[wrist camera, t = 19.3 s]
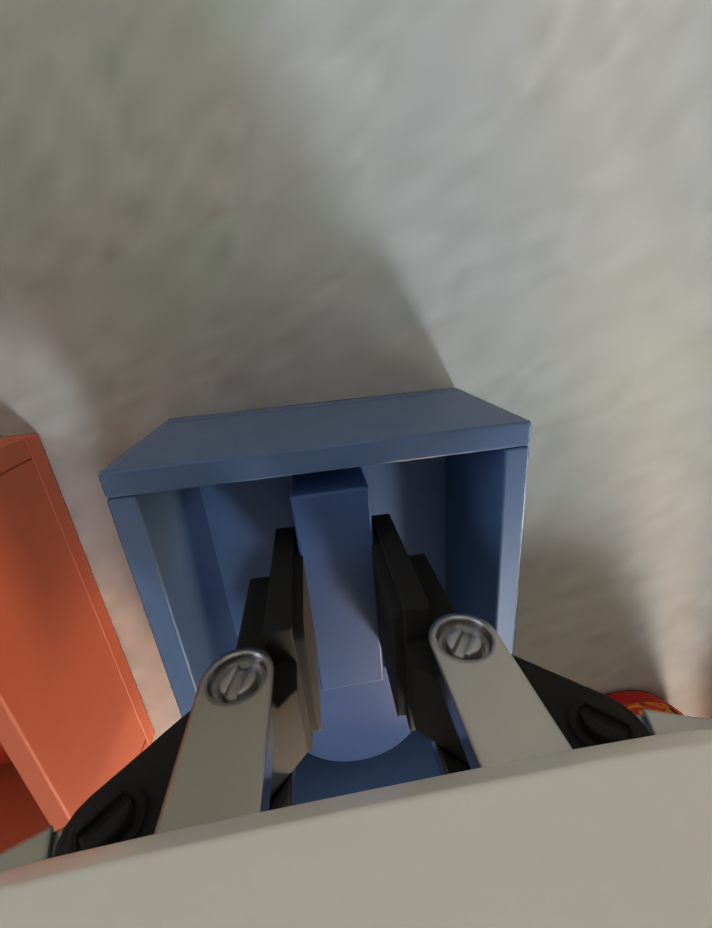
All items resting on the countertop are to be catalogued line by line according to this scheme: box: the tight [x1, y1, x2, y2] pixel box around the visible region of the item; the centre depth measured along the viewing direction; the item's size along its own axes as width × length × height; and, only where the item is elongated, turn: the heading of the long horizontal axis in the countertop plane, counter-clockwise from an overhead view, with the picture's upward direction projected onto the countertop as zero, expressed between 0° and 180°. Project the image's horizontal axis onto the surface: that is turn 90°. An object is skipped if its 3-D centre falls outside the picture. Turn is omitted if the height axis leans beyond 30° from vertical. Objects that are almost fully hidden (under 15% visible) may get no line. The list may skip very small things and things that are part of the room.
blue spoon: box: [290, 467, 411, 762], centre depth 11 cm, size 10×4×2 cm, turn 5°
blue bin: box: [98, 388, 531, 805], centre depth 13 cm, size 13×9×5 cm
